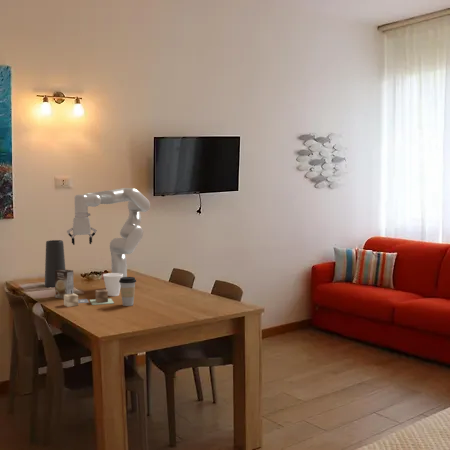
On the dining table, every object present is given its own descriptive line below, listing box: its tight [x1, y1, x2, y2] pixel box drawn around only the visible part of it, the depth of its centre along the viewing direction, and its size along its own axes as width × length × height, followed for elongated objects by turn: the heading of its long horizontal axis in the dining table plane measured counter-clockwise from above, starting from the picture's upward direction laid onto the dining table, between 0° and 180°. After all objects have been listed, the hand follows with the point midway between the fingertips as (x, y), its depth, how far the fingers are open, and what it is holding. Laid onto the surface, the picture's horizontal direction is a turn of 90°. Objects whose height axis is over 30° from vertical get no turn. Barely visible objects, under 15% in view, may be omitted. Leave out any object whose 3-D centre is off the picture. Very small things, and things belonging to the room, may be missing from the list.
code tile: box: [78, 298, 90, 304], centre depth 343 cm, size 10×10×1 cm
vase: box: [44, 239, 66, 288], centre depth 390 cm, size 14×14×29 cm
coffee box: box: [54, 268, 75, 300], centre depth 353 cm, size 9×6×16 cm
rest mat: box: [89, 298, 115, 306], centre depth 341 cm, size 12×12×1 cm
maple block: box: [63, 293, 79, 308], centre depth 333 cm, size 6×6×6 cm
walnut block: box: [95, 288, 109, 303], centre depth 341 cm, size 6×6×6 cm
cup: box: [102, 272, 123, 297], centre depth 360 cm, size 12×12×12 cm
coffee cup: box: [119, 276, 137, 307], centre depth 334 cm, size 9×9×15 cm
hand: (82, 244), depth 360 cm, fingers open, 9 cm apart
